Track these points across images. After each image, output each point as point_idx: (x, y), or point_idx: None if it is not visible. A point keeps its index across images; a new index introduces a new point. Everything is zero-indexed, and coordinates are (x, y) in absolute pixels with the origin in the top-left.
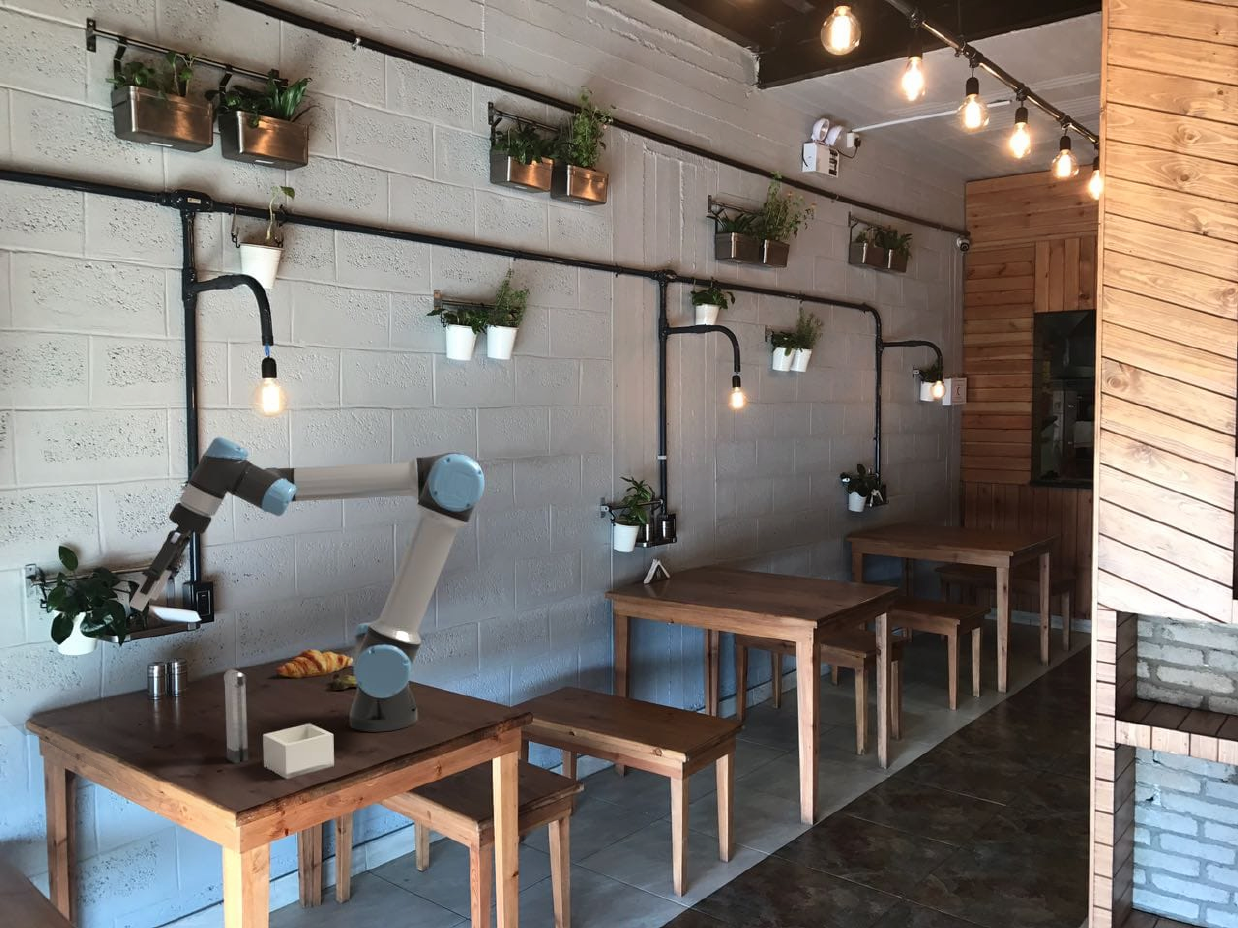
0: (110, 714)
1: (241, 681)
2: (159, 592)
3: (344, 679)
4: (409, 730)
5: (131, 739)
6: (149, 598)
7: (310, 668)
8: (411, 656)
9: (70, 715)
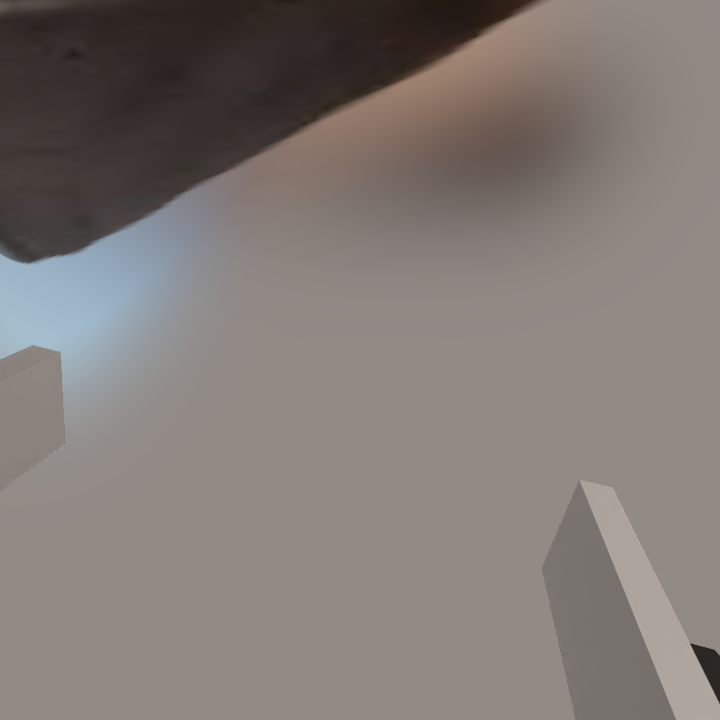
0: (4, 134)
1: None
2: (4, 385)
3: None
4: None
5: (207, 73)
6: (614, 565)
7: None
8: None
9: (27, 211)
